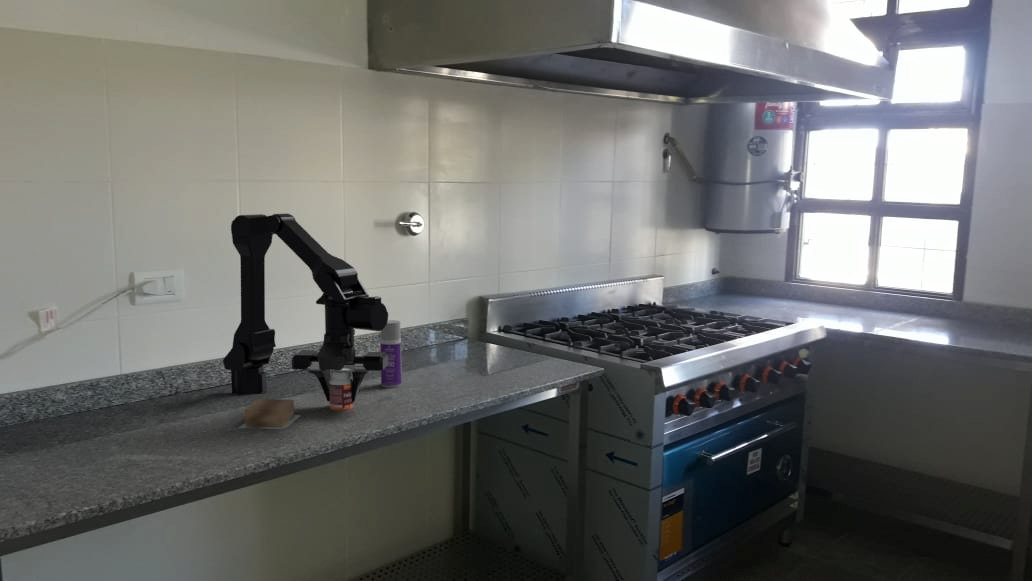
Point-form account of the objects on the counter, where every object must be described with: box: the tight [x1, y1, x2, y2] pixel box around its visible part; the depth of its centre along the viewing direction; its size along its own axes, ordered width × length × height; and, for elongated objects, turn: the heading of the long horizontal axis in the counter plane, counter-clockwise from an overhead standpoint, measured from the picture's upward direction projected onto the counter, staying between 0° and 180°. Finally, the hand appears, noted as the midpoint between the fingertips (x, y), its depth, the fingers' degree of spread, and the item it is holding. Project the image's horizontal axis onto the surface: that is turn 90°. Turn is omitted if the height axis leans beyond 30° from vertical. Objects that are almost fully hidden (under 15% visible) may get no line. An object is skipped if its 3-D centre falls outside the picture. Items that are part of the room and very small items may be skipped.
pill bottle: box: [329, 368, 354, 411], centre depth 163 cm, size 5×5×8 cm
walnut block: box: [244, 398, 295, 427], centre depth 153 cm, size 7×7×3 cm
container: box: [380, 319, 402, 389], centre depth 183 cm, size 5×5×15 cm
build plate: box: [238, 414, 301, 430], centre depth 154 cm, size 17×12×1 cm
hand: (341, 401), depth 164 cm, fingers closed on pill bottle, 5 cm apart
